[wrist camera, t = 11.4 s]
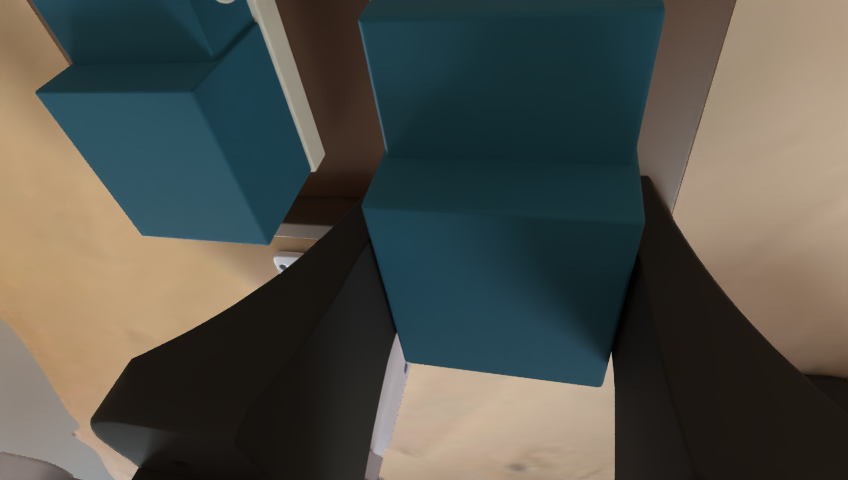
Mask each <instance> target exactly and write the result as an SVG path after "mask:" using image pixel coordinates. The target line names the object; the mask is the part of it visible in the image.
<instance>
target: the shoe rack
mask: <svg viewBox="0 0 848 480" xmlns="http://www.w3.org/2000/svg"><path fill="white" fill-rule="evenodd" d="M369 1H370V0H275V2H276V5H277V9H278V12H279V15H280V18H281V21H282V24H283V27H284V30H285V33H286V36H287V39H288V42H289V45H290V48H291V51H292V54H293V57H294V60H295V63H296V66H297V69H298V73H299V76H300V79H301V82H302V85H303V88H304V91H305V94H306V97H307V100H308V103H309V106H310V109H311V112H312V115H313V118H314V121H315V124H316V127H317V130H318V134H319V137H320V140H321V143H322V146H323V149H324V152H325V156H324V158H323V159H322V161H321V163H320V165H319V167H318V168H317V170H316V171H315V172H310V174H309V175H308V177H307V179H306V181H305V182H304V184H303V186H302V188H301V190H300V191H299V193H298V195H297V197H296V198H295V200H294V202H293V204H292V205H291V207H290V209H289V211H288V213H287V214H286V216H285V218H284V220H283V221H282V223H281V225H280V227H279V228H278V230H277V232H276V234H275V236H278V237H292V238H306V239H321V238H322V237H323V236H324V235H325V234H326V233H327V232H328V231H329V230H330V229H331V228H332V227H333V226H334V225H335V224H336V223H337V222H338V221H339V220H340V219H341V218H342V217H343V216H344V215H345V214H346V213H347V212H348V211H349V210H350V209H351V208H352V207H353V206H354V205H355V204H356V203H357V202H358V201H359V200H360V198H361V197H362V196H363V195H364V194H365V193H366V192H367V191H368V188H369V186H370V184H371V181H372V179H373V177H374V175H375V172H376V170H377V168H378V165H379V163H380V161H381V158H382V156H383V154H384V151H385V144H384V140H383V135H382V130H381V126H380V121H379V116H378V112H377V107H376V102H375V98H374V93H373V88H372V84H371V79H370V74H369V70H368V65H367V60H366V56H365V51H364V46H363V42H362V37H361V32H360V28H359V23H358V19H359V16H360V15H361V13H362V12H363V10H364V9H365V7H366V6H367V4H368V3H369ZM27 2H28V3H29V5H30V6H31V8H32V9H33V11H34V12H35V14H36V15H37V17H38V18H39V20H40V21H41V23H42V24H43V26H44V27H45V29H46V30H47V32H48V33H49V35H50V36H51V38H52V39H53V41H54V42H55V44H56V45H57V47H58V48H59V50H60V51H61V53H62V54H63V56H64V57H65V59H66V60H67V62H68V63H69V65H72V64H73V63H72V61H71V60H70V58H69V57H68V55H67V54H66V52H65V51H64V49H63V48H62V46H61V45H60V43H59V42H58V40H57V39H56V37H55V36H54V34H53V33H52V31H51V30H50V28H49V27H48V25H47V23H46V22H45V20H44V19H43V17H42V16H41V14H40V13H39V11H38V10H37V8H36V7H35V5H34V4H33V2H32V1H31V0H27ZM663 2H664V6H665V10H666V13H665V18H664V22H663V27H662V32H661V36H660V41H659V46H658V50H657V55H656V60H655V64H654V69H653V74H652V78H651V83H650V88H649V92H648V97H647V102H646V106H645V111H644V116H643V120H642V125H641V130H640V134H639V139H638V144H637V151H638V160H639V169H640V175H644V176H649V177H650V178H651V179H652V181H653V183H654V185H655V187H656V189H657V191H658V193H659V195H660V197H661V199H662V200H663V202H664V204H665V206H666V208H667V209H668V211H669V213H670V215H671V216H672V213H673V210H674V206H675V203H676V200H677V196H678V193H679V190H680V186H681V183H682V180H683V176H684V173H685V170H686V167H687V163H688V160H689V157H690V153H691V150H692V147H693V143H694V140H695V137H696V133H697V130H698V127H699V123H700V120H701V117H702V113H703V110H704V107H705V103H706V100H707V97H708V93H709V90H710V87H711V83H712V80H713V77H714V73H715V70H716V67H717V64H718V60H719V57H720V54H721V50H722V47H723V44H724V40H725V37H726V34H727V30H728V27H729V24H730V20H731V17H732V14H733V10H734V7H735V4H736V0H663ZM672 218H673V216H672Z"/></svg>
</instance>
